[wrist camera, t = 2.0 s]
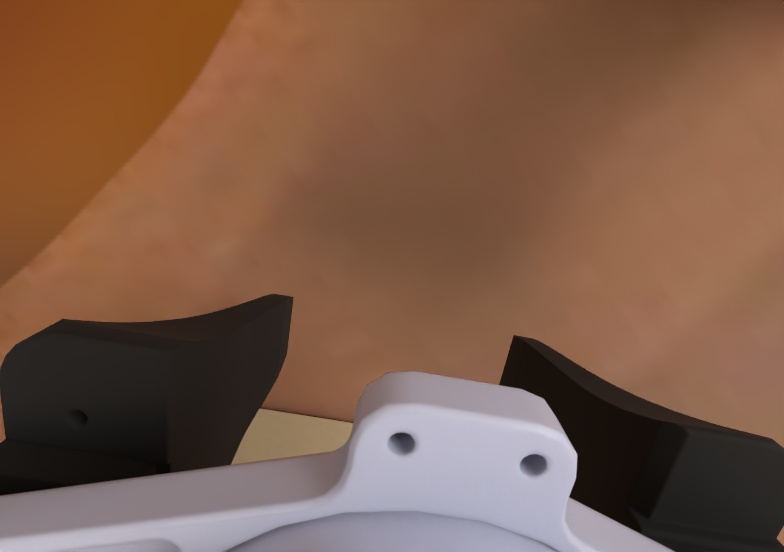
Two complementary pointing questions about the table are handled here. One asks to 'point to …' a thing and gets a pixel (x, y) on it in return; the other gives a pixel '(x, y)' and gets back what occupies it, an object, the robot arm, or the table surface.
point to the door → (289, 436)
